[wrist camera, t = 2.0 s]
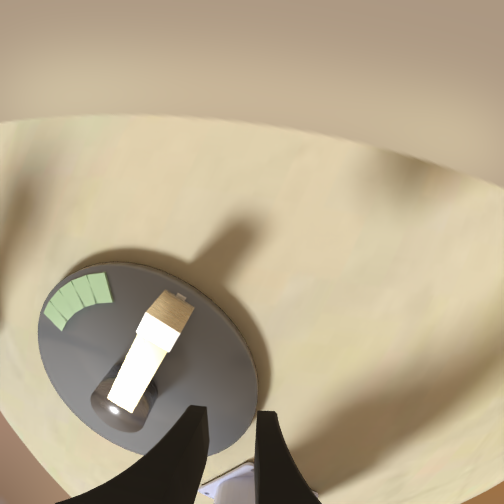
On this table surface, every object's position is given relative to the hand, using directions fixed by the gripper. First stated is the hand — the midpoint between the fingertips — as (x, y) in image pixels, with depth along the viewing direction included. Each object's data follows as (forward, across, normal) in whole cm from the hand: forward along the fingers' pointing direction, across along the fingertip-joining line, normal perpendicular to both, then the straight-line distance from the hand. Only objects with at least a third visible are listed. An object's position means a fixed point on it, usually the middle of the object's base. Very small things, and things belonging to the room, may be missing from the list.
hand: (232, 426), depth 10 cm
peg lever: (+8, +7, +3) cm, 11 cm away
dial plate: (+9, +8, +6) cm, 14 cm away
